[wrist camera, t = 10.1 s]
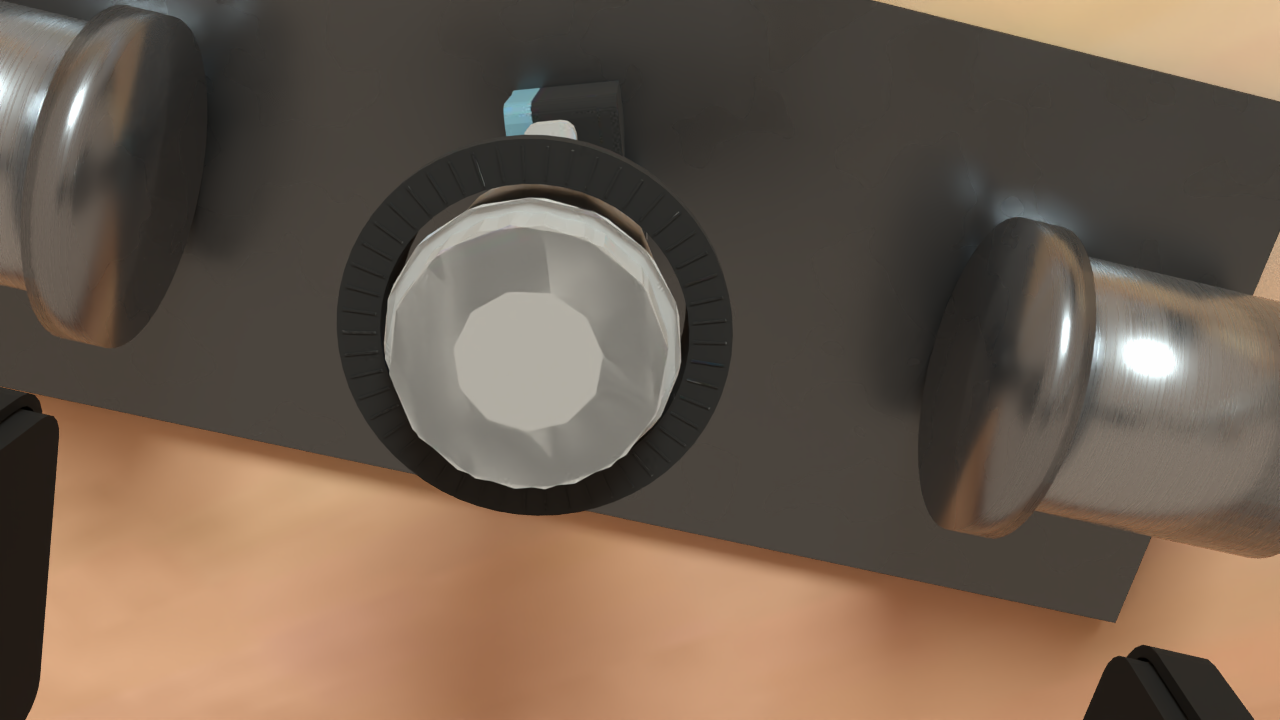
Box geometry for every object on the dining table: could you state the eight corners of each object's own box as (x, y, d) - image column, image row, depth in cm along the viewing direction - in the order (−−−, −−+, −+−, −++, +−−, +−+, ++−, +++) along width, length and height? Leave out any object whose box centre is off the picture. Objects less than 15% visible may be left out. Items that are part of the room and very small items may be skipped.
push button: (716, 370, 26) (758, 618, 17) (471, 392, 26) (373, 650, 17) (691, 54, 24) (722, 131, 14) (423, 80, 24) (280, 173, 15)
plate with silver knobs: (1315, 110, 25) (1538, 168, 18) (1107, 611, 28) (1235, 796, 22) (-82, -238, 23) (-354, -303, 16) (-102, 354, 26) (-327, 480, 20)
